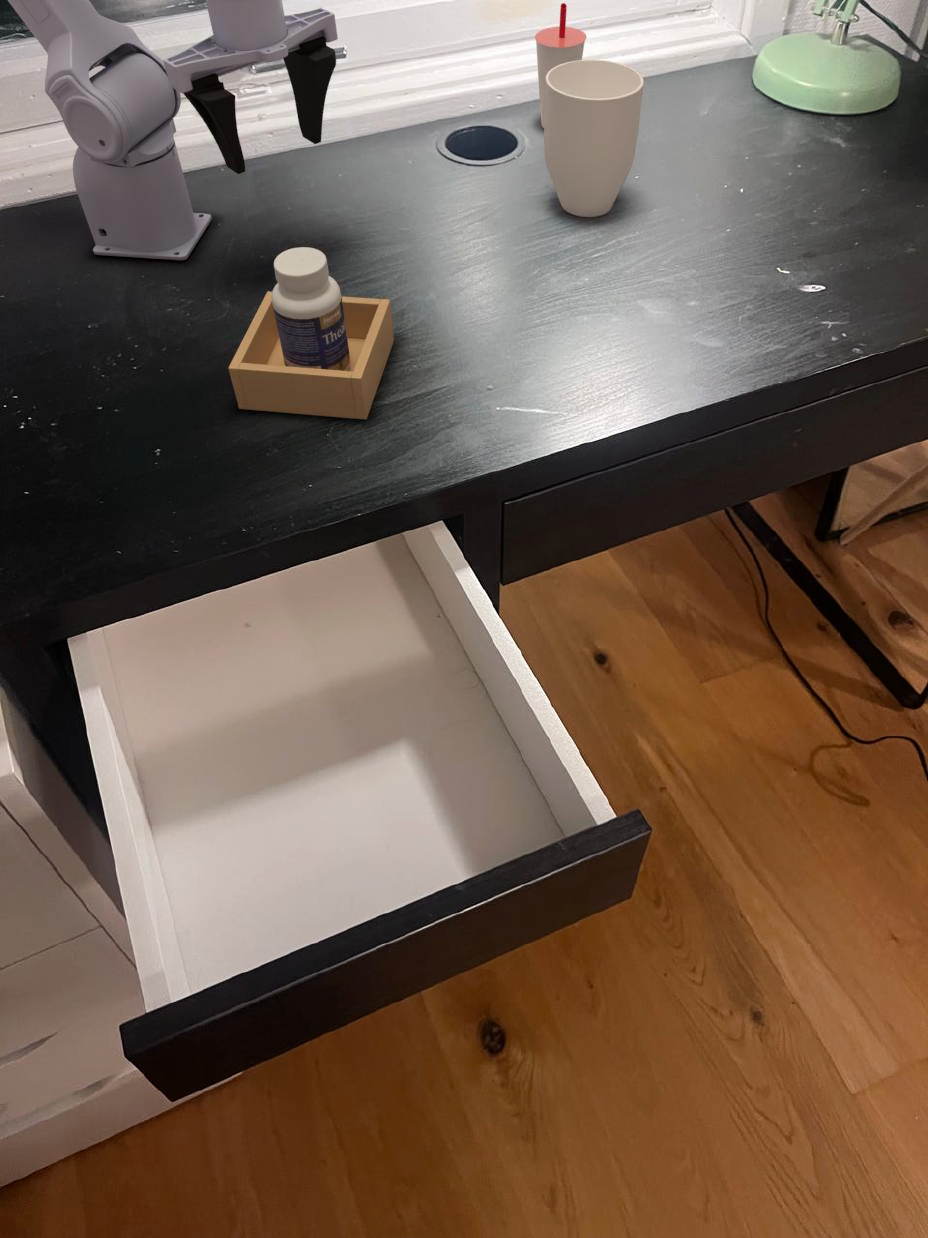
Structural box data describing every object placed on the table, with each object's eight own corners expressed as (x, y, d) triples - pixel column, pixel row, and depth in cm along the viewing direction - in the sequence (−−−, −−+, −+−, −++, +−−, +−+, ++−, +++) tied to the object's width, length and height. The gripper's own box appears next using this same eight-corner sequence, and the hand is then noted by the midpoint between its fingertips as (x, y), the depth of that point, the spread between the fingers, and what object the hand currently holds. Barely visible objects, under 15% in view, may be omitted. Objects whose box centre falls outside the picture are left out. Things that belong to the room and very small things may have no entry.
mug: (645, 218, 94) (661, 88, 84) (561, 235, 92) (568, 105, 83) (596, 164, 101) (606, 39, 91) (518, 180, 99) (520, 54, 90)
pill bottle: (341, 391, 77) (324, 283, 70) (278, 384, 78) (254, 277, 70) (359, 351, 81) (344, 244, 73) (298, 345, 81) (277, 238, 74)
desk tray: (238, 408, 77) (227, 367, 74) (275, 331, 84) (267, 290, 80) (366, 419, 76) (360, 378, 73) (394, 340, 82) (390, 299, 79)
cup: (578, 136, 105) (586, 14, 95) (529, 134, 105) (532, 12, 96) (582, 114, 108) (590, -7, 99) (535, 112, 109) (538, -8, 99)
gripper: (177, 11, 67) (224, 199, 77) (347, -42, 72) (370, 141, 83) (132, -14, 70) (183, 169, 81) (298, -63, 76) (325, 115, 86)
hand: (274, 153), depth 82 cm, fingers open, 7 cm apart
